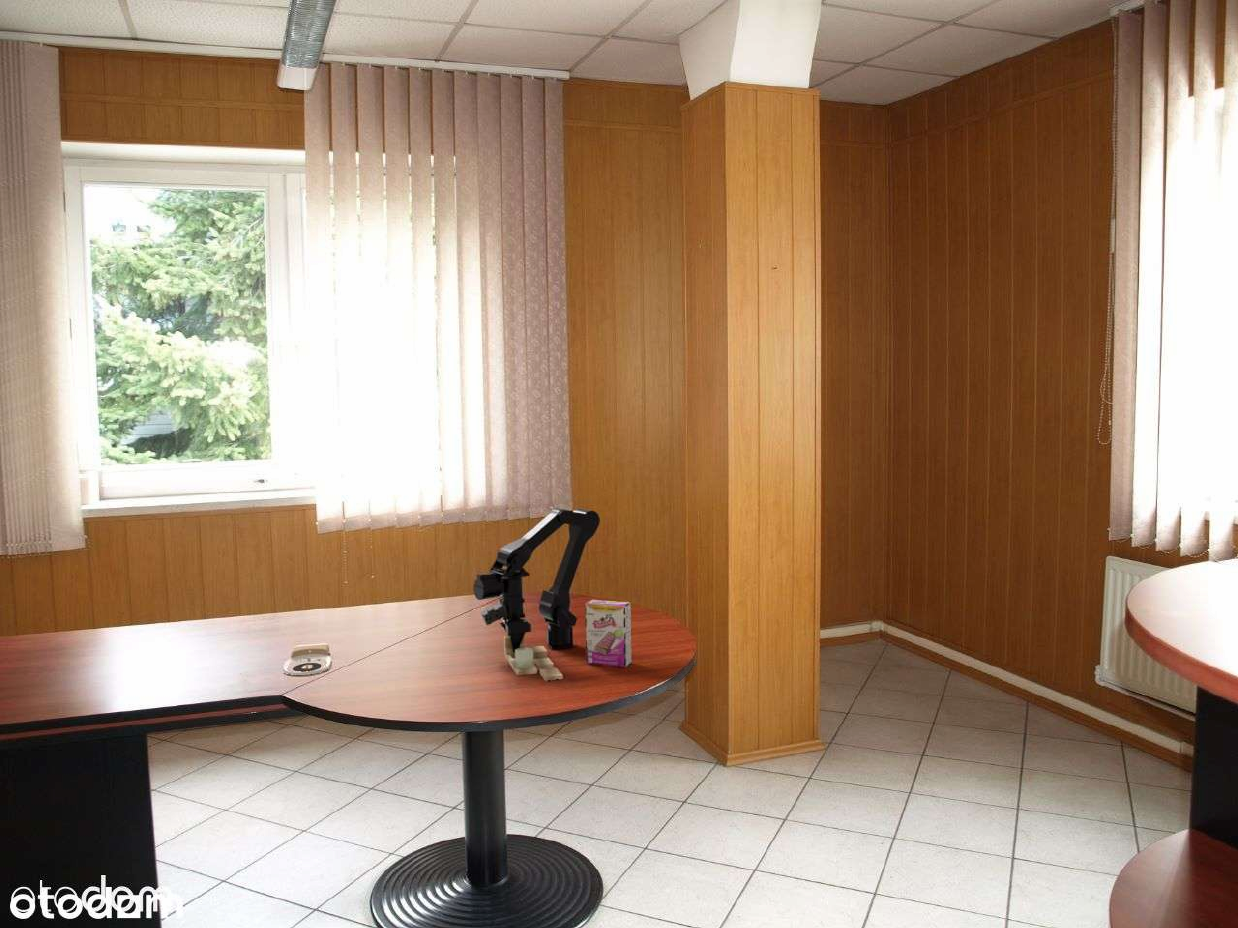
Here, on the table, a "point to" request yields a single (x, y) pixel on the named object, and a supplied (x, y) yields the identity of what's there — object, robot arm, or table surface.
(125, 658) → the table surface
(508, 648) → the beige long blocky piece
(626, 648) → the candy bar box
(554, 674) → the broken strip
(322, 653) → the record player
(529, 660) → the mint rounded cylinder
